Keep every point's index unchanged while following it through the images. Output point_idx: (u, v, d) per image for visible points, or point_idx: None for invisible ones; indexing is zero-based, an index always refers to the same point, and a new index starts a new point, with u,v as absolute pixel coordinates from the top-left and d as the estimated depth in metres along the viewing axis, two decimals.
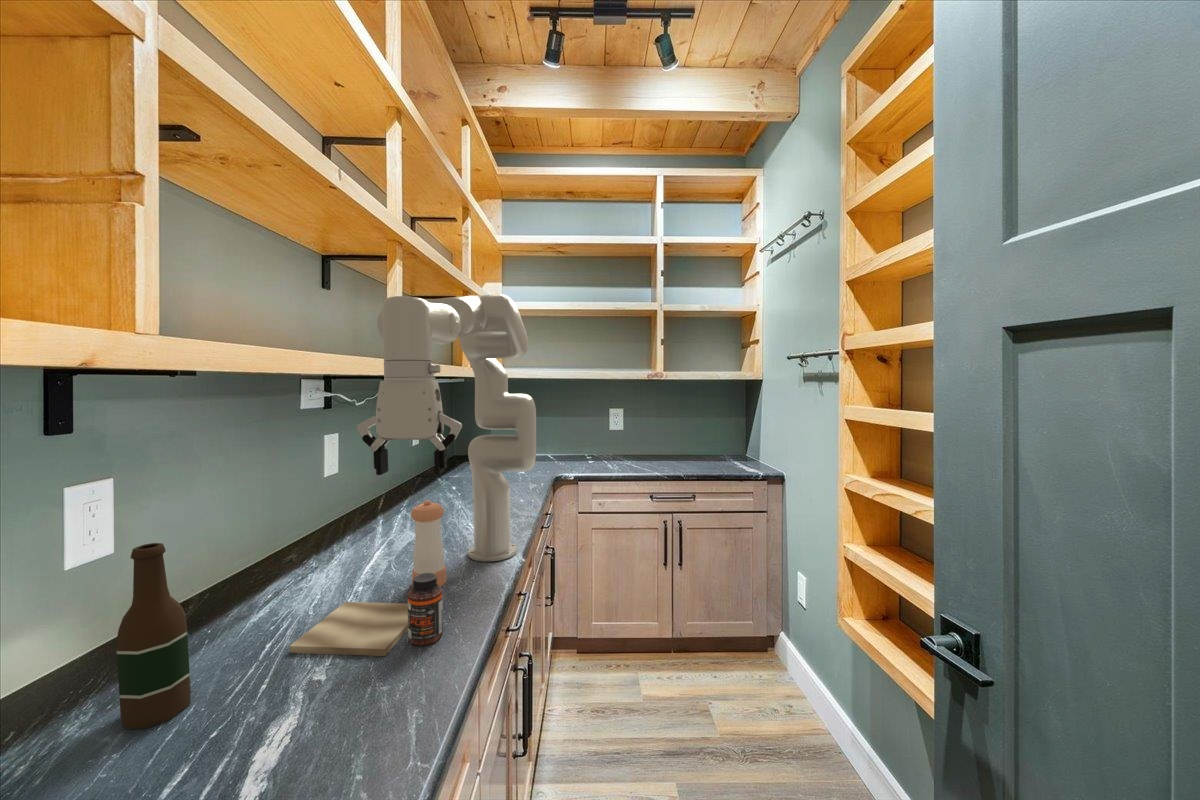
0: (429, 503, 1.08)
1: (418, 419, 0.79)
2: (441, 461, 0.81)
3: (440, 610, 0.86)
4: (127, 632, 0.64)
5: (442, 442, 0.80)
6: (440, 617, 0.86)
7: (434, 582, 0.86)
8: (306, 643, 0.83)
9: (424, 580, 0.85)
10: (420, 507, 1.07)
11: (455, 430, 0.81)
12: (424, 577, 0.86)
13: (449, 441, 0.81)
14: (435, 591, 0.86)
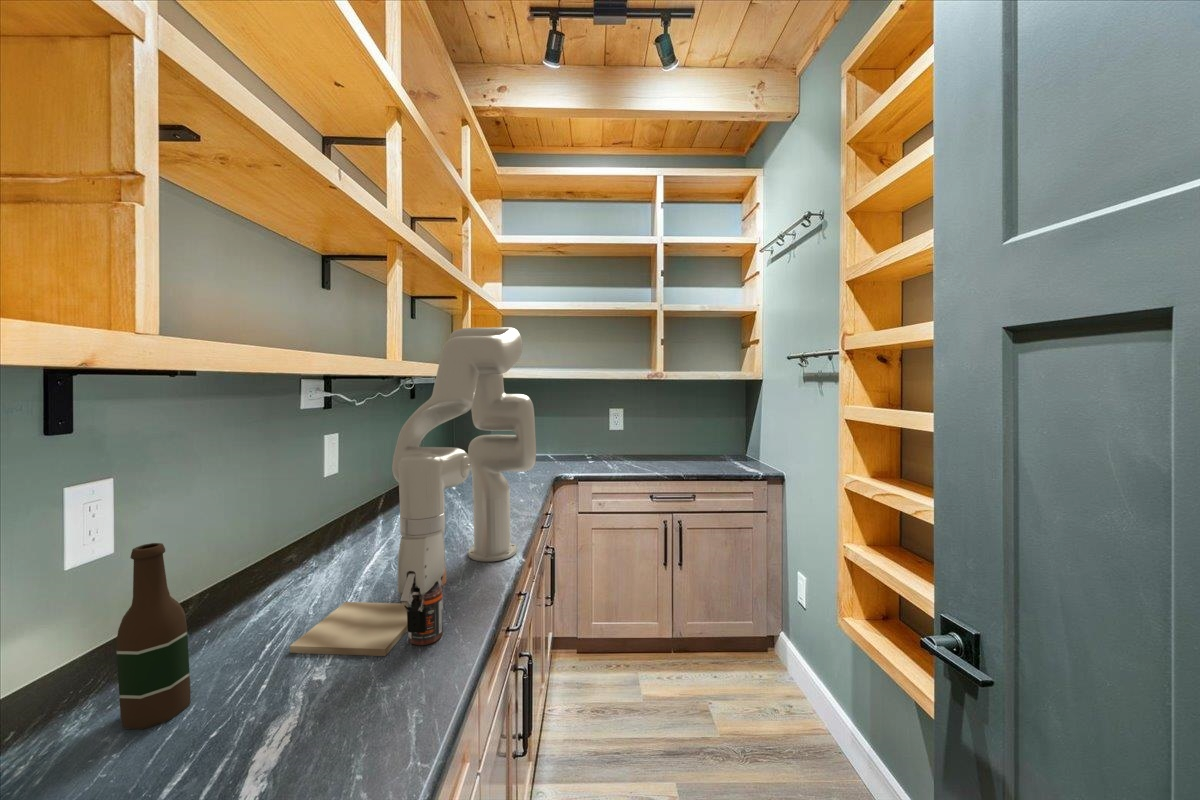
0: None
1: (441, 561, 0.89)
2: None
3: (440, 610, 0.86)
4: (127, 632, 0.64)
5: None
6: (440, 617, 0.86)
7: None
8: (306, 643, 0.83)
9: None
10: None
11: None
12: None
13: (441, 579, 0.92)
14: (436, 591, 0.86)
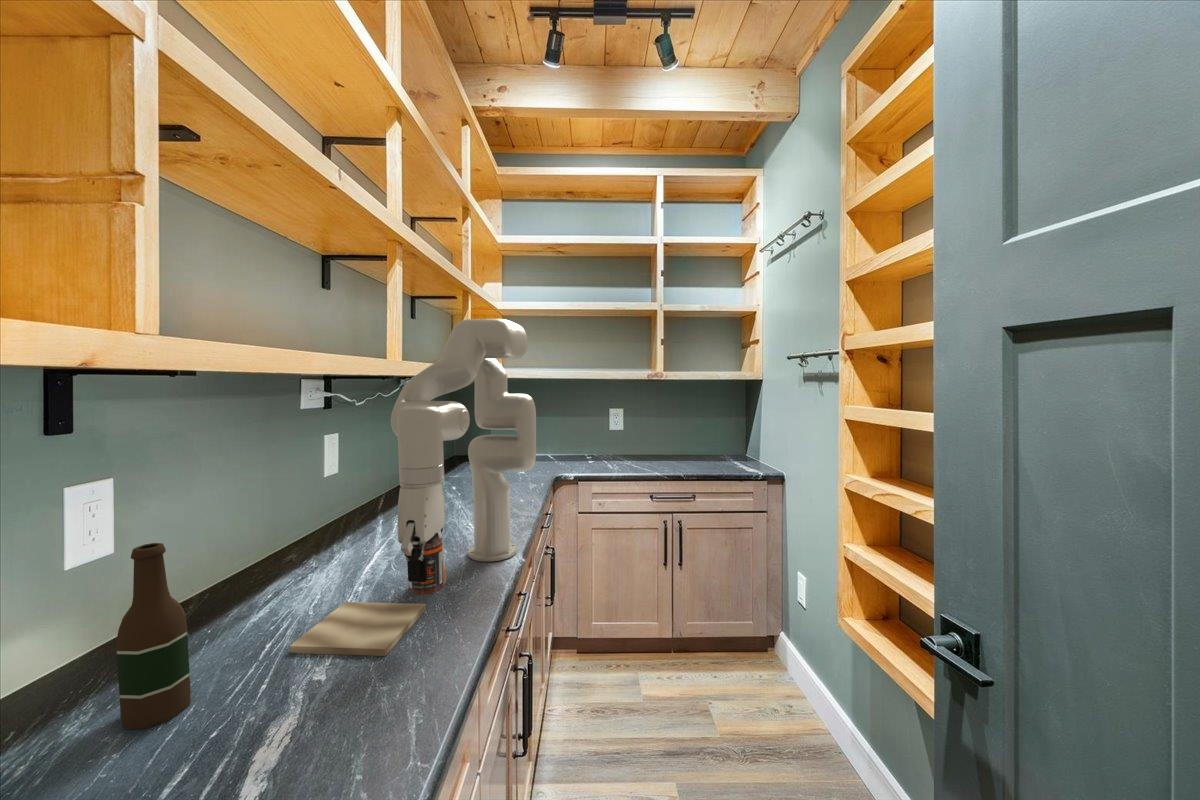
0: None
1: (441, 513, 0.88)
2: None
3: (440, 561, 0.86)
4: (127, 632, 0.64)
5: None
6: (440, 568, 0.87)
7: None
8: (306, 643, 0.83)
9: None
10: None
11: None
12: None
13: (441, 533, 0.92)
14: (436, 541, 0.86)
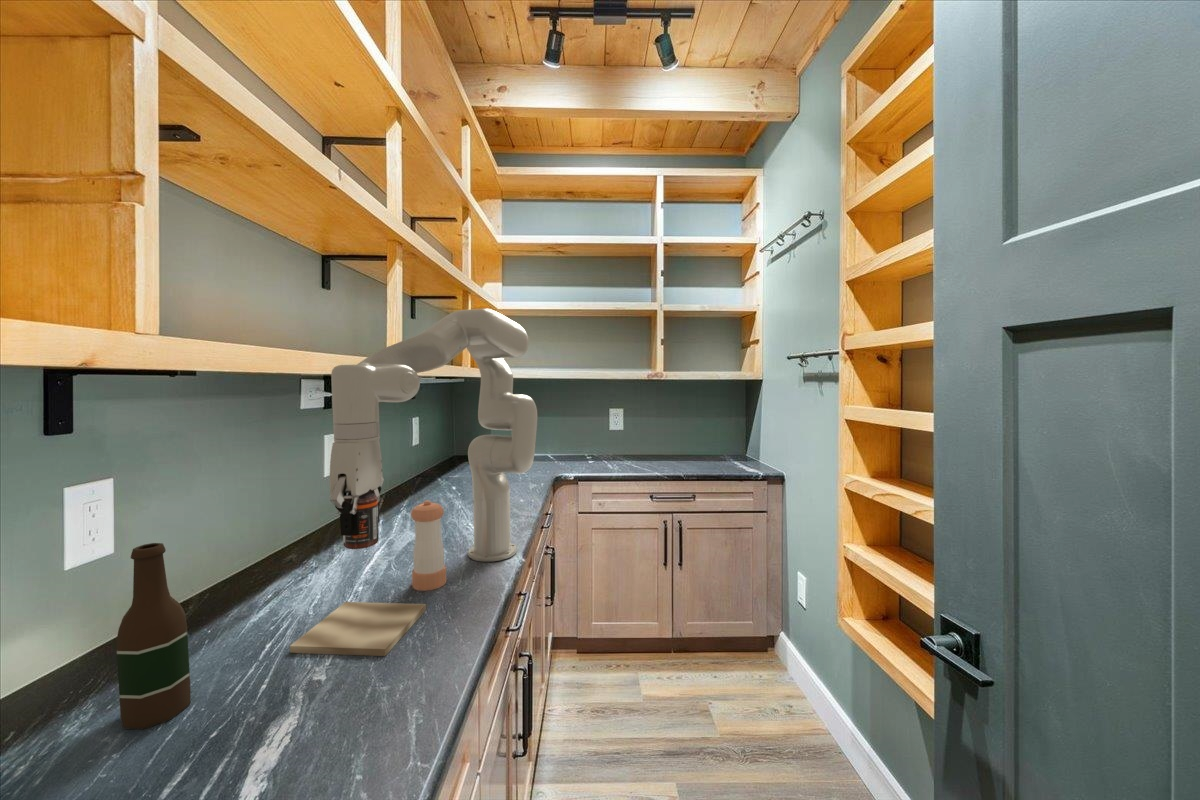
0: (429, 503, 1.08)
1: (377, 471, 0.91)
2: None
3: (374, 516, 0.89)
4: (127, 632, 0.64)
5: None
6: (375, 523, 0.89)
7: None
8: (306, 643, 0.83)
9: None
10: (420, 507, 1.07)
11: None
12: None
13: (379, 492, 0.94)
14: (370, 497, 0.88)
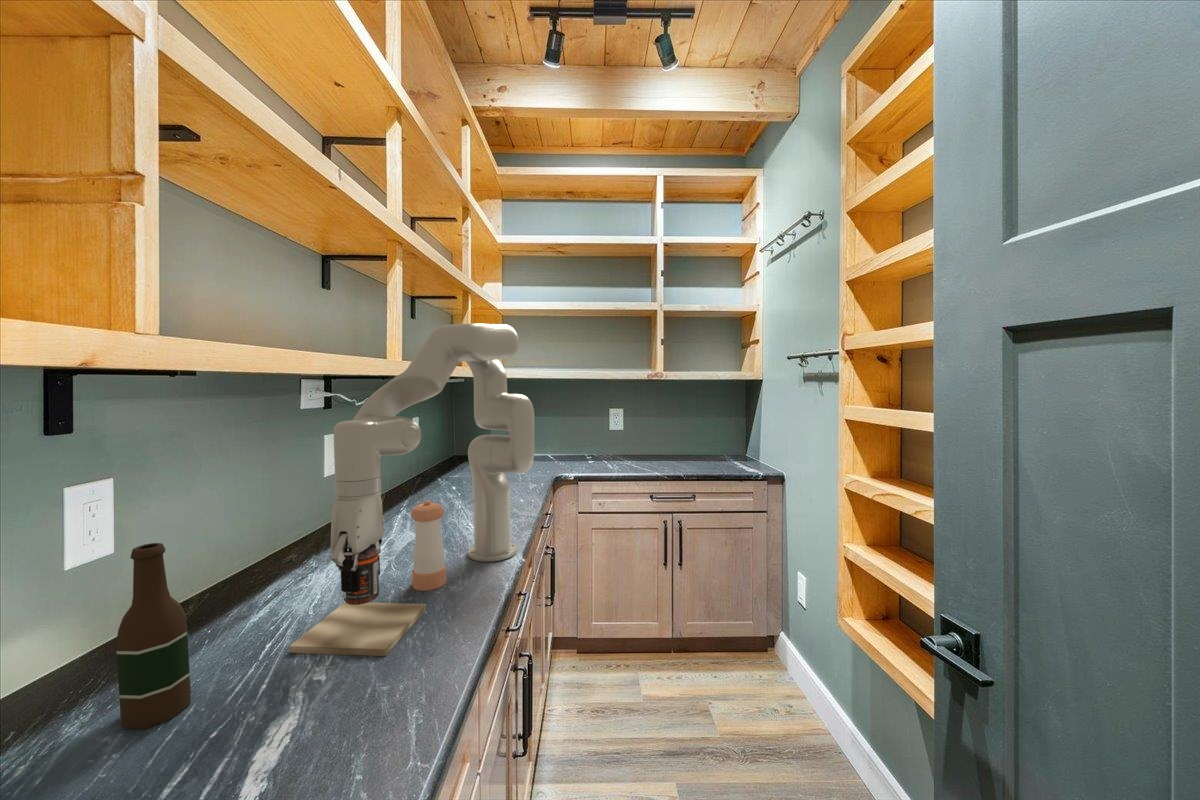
0: (429, 503, 1.08)
1: (378, 525, 0.91)
2: None
3: (375, 571, 0.89)
4: (127, 632, 0.64)
5: None
6: (375, 578, 0.89)
7: None
8: (306, 643, 0.83)
9: None
10: (420, 507, 1.07)
11: None
12: None
13: (379, 544, 0.95)
14: (370, 552, 0.88)
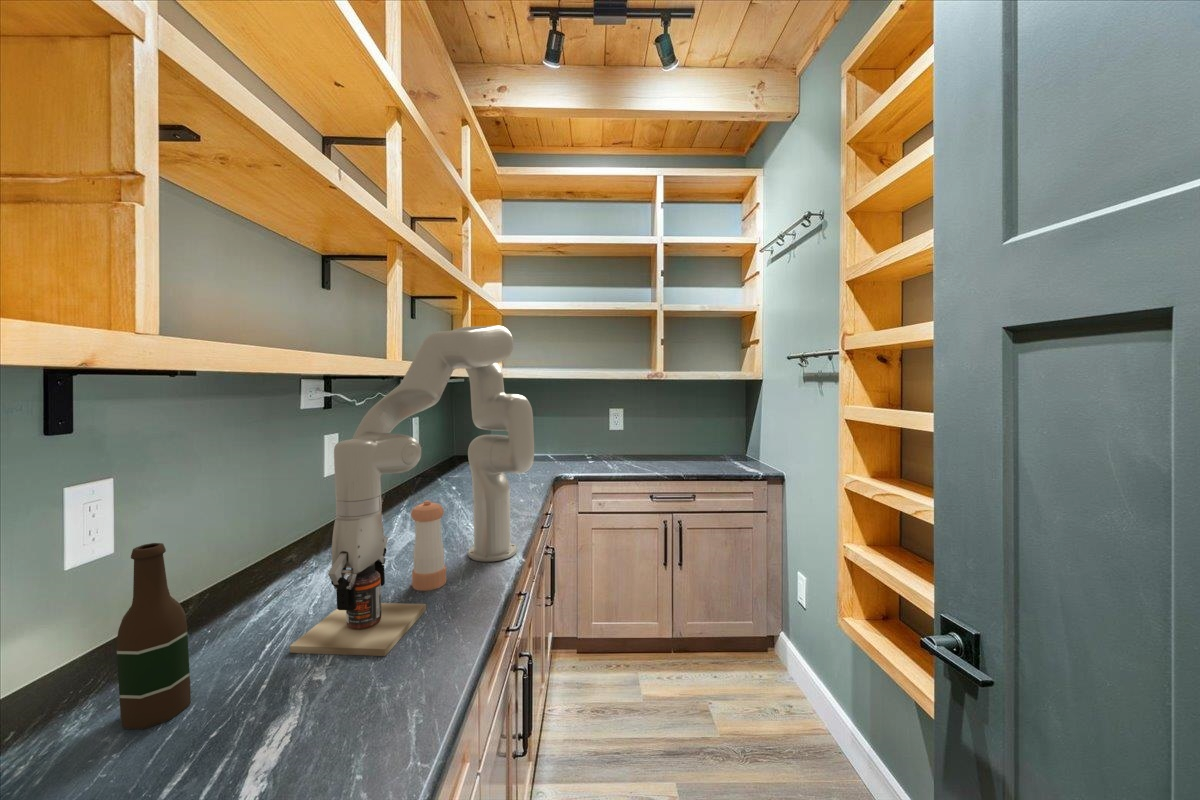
0: (429, 503, 1.08)
1: (379, 543, 0.91)
2: None
3: (377, 595, 0.90)
4: (127, 632, 0.64)
5: None
6: (378, 602, 0.90)
7: (371, 568, 0.89)
8: (306, 643, 0.83)
9: None
10: (420, 507, 1.07)
11: (385, 543, 0.97)
12: None
13: (384, 554, 0.96)
14: (373, 577, 0.89)
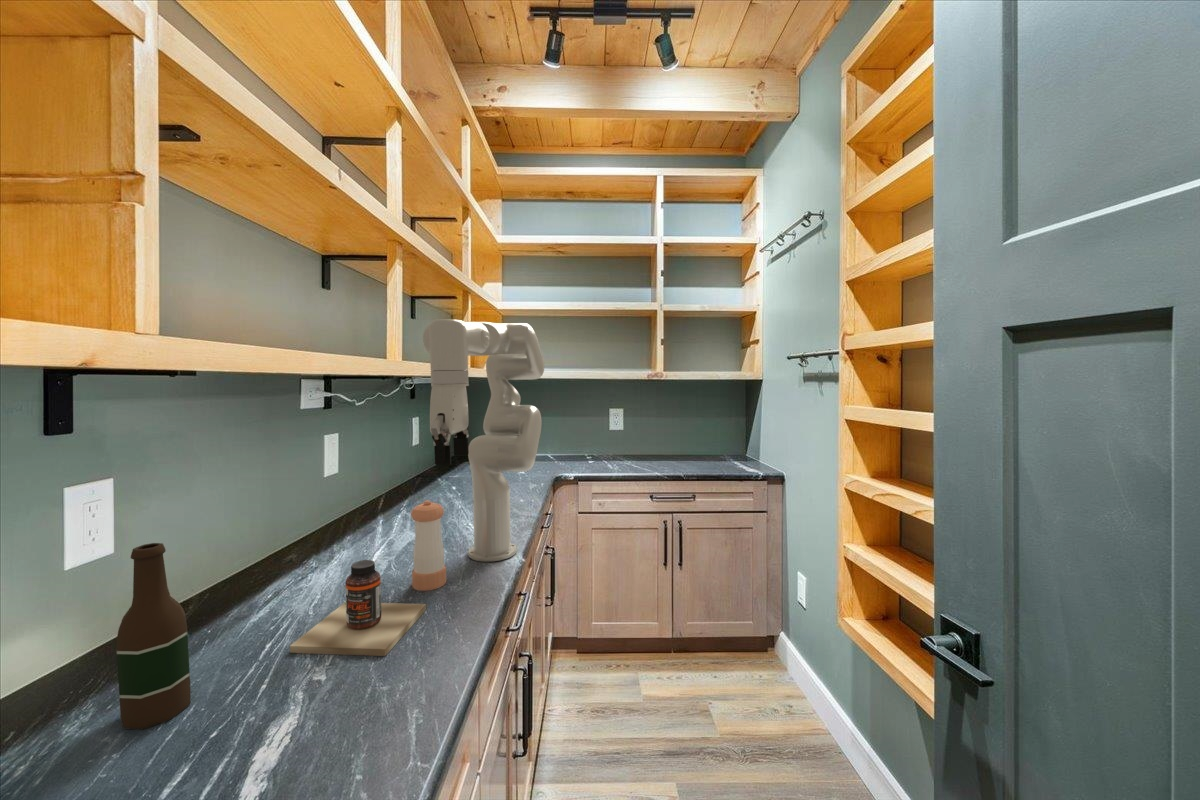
0: (429, 503, 1.08)
1: (465, 415, 1.03)
2: None
3: (377, 595, 0.90)
4: (127, 632, 0.64)
5: None
6: (378, 602, 0.90)
7: (371, 568, 0.89)
8: (306, 643, 0.83)
9: (361, 567, 0.88)
10: (420, 507, 1.07)
11: None
12: (362, 564, 0.89)
13: (467, 429, 1.08)
14: (373, 577, 0.89)
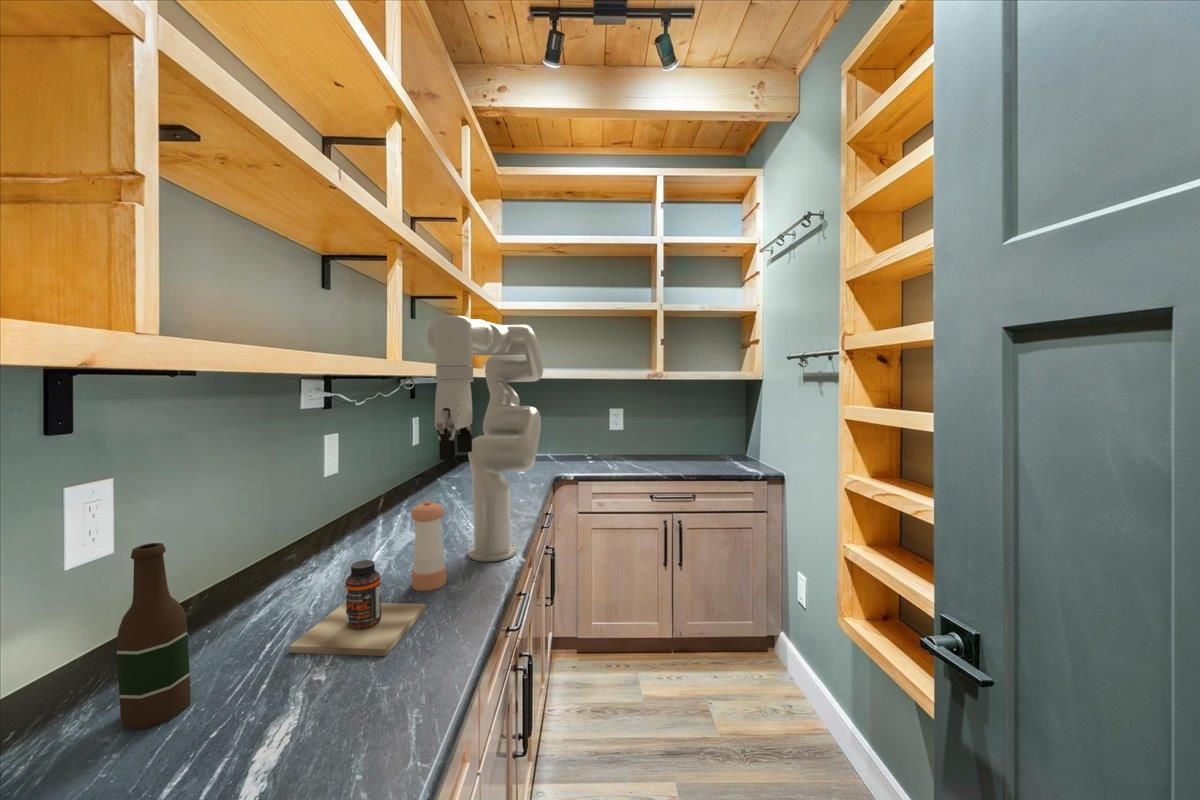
0: (429, 503, 1.08)
1: (470, 411, 1.04)
2: None
3: (377, 595, 0.90)
4: (127, 632, 0.64)
5: None
6: (377, 602, 0.90)
7: (371, 568, 0.89)
8: (306, 643, 0.83)
9: (361, 567, 0.88)
10: (420, 507, 1.07)
11: None
12: (362, 564, 0.89)
13: (470, 426, 1.09)
14: (373, 577, 0.89)
